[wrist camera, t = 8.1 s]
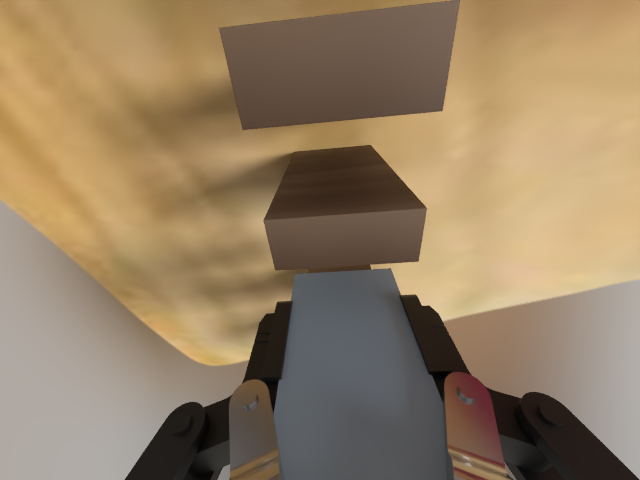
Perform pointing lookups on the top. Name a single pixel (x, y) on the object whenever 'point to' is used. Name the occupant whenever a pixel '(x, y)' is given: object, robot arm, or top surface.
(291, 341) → the domino
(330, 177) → the domino
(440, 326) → the robot arm
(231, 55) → the domino
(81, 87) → the top surface
